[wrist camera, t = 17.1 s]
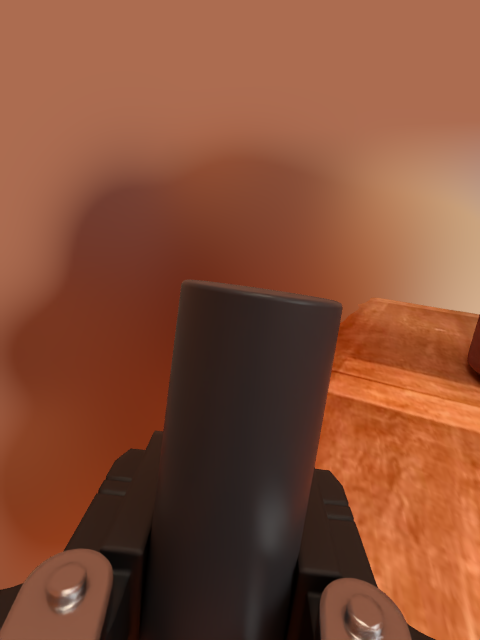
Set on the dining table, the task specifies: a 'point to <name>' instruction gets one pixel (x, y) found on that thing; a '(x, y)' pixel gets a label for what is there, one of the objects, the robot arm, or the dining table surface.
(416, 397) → the dining table surface
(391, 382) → the dining table surface
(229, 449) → the dark grey cylinder
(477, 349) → the planter
